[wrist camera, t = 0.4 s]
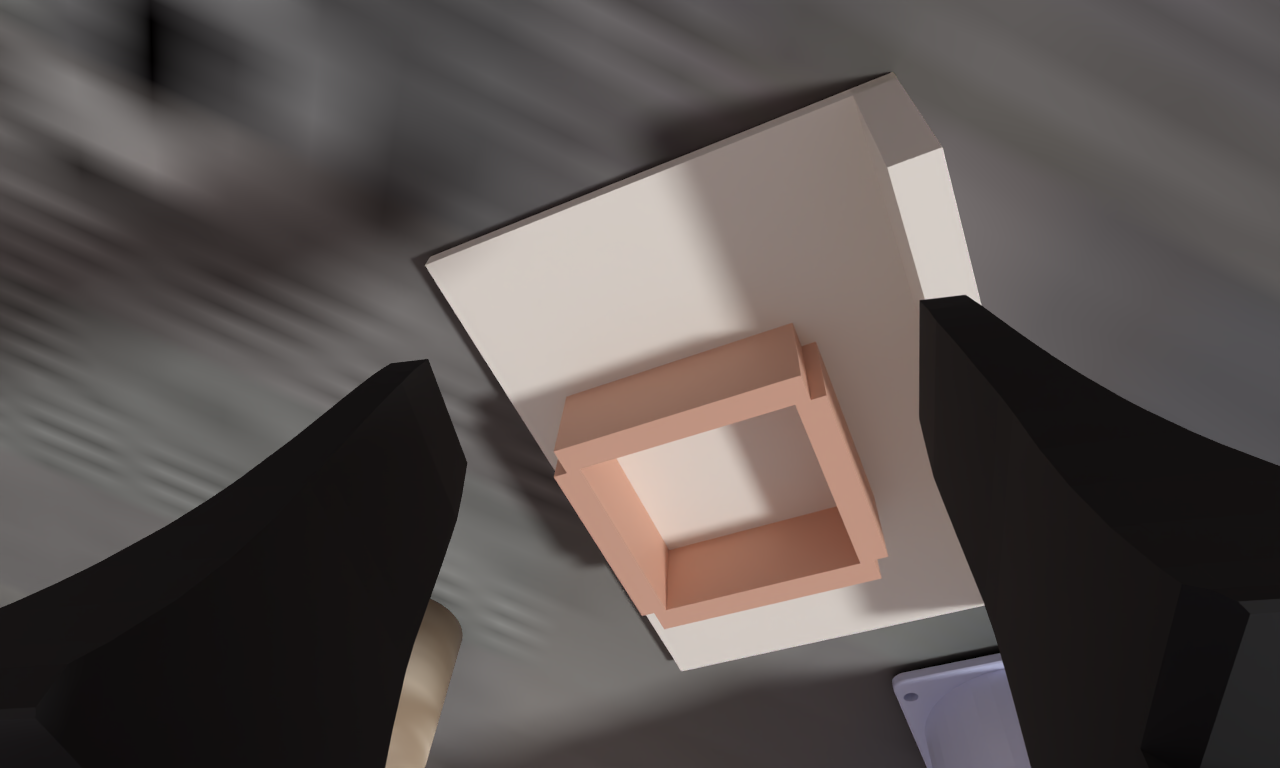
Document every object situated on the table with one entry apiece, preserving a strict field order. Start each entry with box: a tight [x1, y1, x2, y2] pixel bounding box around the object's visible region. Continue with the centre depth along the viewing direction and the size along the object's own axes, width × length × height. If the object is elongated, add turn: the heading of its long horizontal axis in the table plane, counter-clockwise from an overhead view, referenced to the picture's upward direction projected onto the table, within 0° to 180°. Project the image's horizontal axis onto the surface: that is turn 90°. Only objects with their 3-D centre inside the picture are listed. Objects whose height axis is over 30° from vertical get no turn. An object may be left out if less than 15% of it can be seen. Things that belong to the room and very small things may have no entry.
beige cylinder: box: [385, 599, 462, 768], centre depth 29 cm, size 4×4×7 cm
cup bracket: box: [425, 72, 984, 671], centre depth 24 cm, size 18×12×5 cm
